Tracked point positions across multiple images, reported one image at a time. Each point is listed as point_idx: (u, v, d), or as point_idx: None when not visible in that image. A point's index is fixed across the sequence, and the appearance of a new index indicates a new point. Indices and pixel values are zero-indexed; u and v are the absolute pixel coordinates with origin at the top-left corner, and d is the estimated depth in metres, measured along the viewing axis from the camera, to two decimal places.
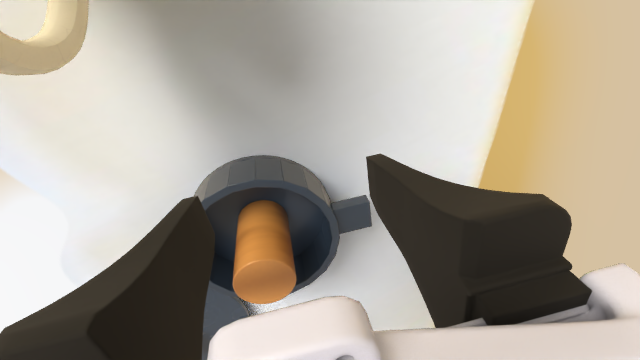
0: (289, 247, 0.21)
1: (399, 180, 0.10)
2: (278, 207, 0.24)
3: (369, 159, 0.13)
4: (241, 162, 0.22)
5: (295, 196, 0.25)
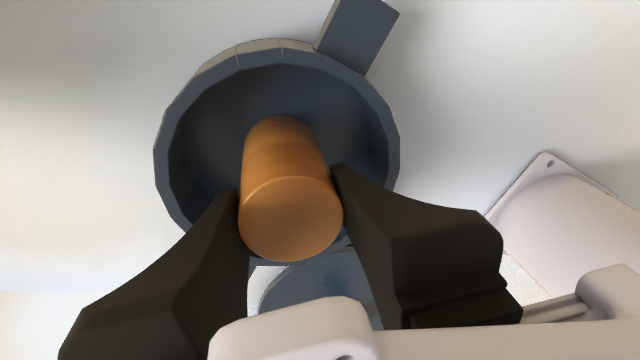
0: (294, 152, 0.12)
1: (352, 191, 0.10)
2: (270, 120, 0.16)
3: (331, 168, 0.12)
4: None
5: (279, 87, 0.16)
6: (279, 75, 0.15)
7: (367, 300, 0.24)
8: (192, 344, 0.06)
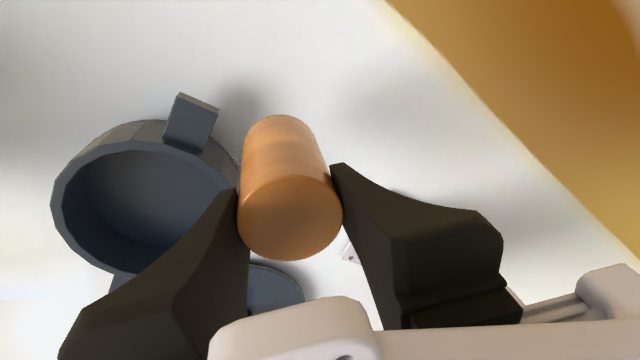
0: (293, 151, 0.12)
1: (352, 191, 0.10)
2: (270, 119, 0.16)
3: (331, 168, 0.12)
4: None
5: (155, 152, 0.21)
6: None
7: (260, 306, 0.30)
8: (192, 344, 0.06)
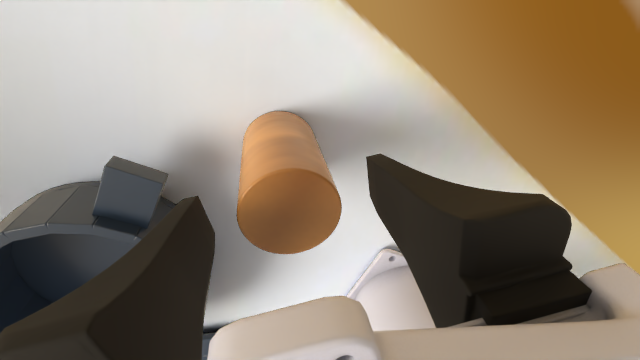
0: (293, 146, 0.13)
1: (399, 180, 0.10)
2: (269, 115, 0.16)
3: (369, 159, 0.13)
4: None
5: None
6: None
7: None
8: None
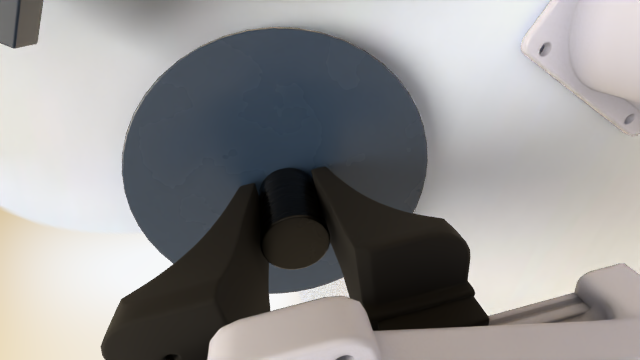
0: None
1: (328, 197, 0.10)
2: None
3: (312, 172, 0.12)
4: None
5: None
6: None
7: (335, 167, 0.13)
8: None
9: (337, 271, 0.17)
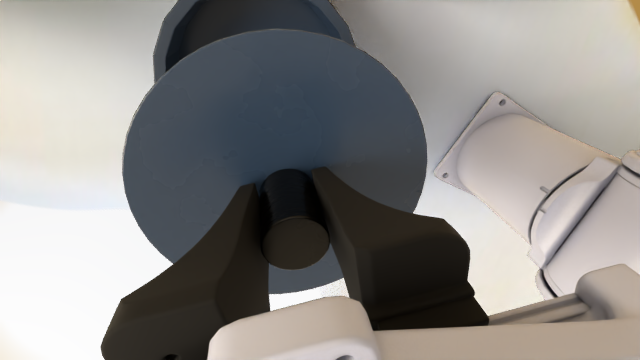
0: None
1: (328, 197, 0.10)
2: None
3: (312, 172, 0.12)
4: None
5: (259, 17, 0.18)
6: (259, 6, 0.18)
7: (335, 168, 0.13)
8: None
9: (337, 272, 0.17)
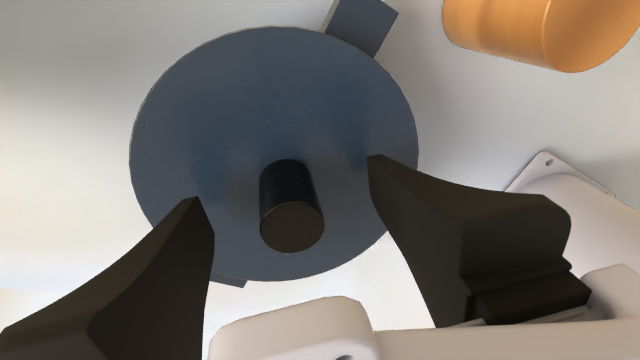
0: None
1: (399, 180, 0.10)
2: None
3: (369, 159, 0.13)
4: None
5: None
6: None
7: (330, 159, 0.14)
8: None
9: (333, 260, 0.17)
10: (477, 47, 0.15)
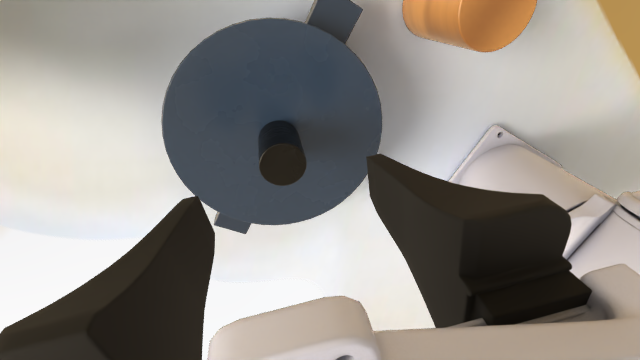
0: None
1: (399, 180, 0.10)
2: None
3: (369, 159, 0.13)
4: None
5: None
6: None
7: (313, 121, 0.18)
8: None
9: (318, 208, 0.22)
10: (427, 36, 0.19)
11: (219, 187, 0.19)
